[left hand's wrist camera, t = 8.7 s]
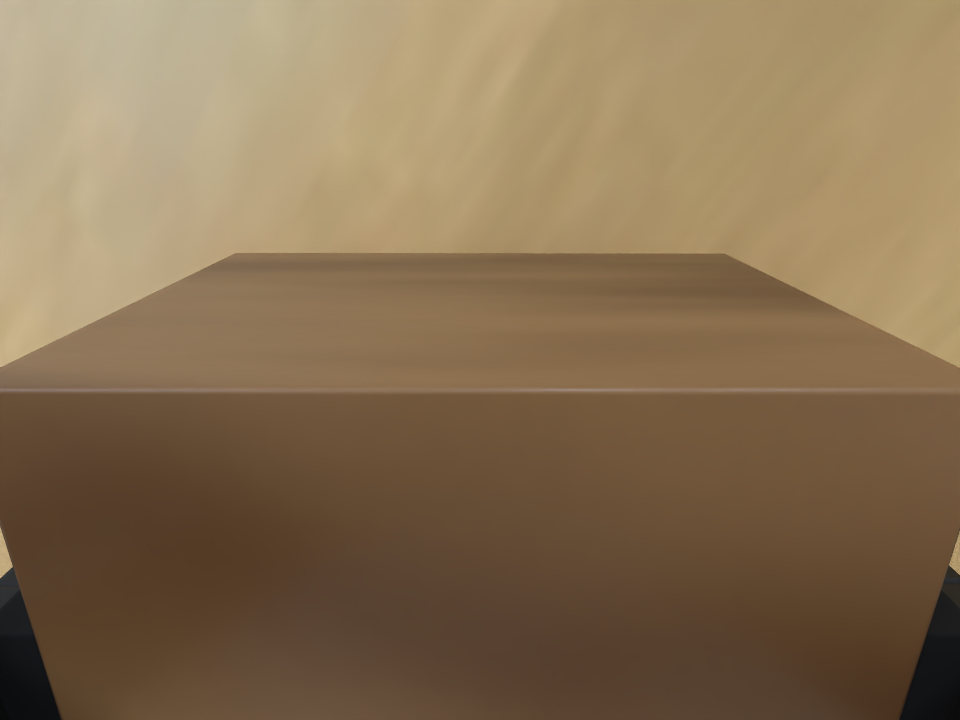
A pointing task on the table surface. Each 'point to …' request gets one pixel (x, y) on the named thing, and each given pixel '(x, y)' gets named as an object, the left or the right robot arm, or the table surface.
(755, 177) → the table surface
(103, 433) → the slab
